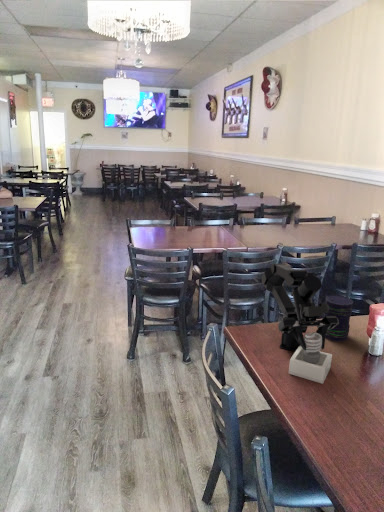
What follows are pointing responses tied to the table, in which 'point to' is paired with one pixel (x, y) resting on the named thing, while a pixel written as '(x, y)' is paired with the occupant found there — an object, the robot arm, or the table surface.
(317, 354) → the light bulb
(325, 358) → the white open box
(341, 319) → the storage jar
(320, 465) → the table surface
